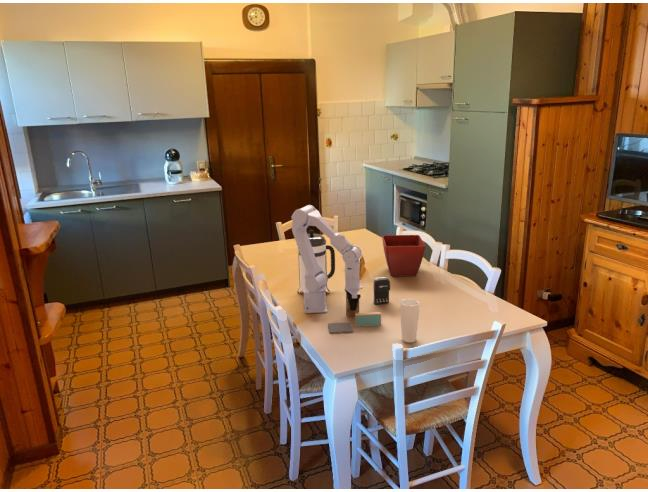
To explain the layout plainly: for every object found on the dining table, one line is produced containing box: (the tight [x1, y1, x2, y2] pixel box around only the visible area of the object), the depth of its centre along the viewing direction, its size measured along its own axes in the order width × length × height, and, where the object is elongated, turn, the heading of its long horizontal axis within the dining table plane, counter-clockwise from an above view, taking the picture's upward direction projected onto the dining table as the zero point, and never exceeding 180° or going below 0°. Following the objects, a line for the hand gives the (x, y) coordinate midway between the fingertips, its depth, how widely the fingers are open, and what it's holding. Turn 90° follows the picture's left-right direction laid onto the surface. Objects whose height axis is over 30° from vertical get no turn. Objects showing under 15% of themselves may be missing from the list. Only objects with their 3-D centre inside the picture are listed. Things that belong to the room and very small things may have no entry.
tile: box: [354, 311, 382, 327], centre depth 194 cm, size 10×2×5 cm, turn 94°
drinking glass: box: [399, 298, 420, 344], centre depth 180 cm, size 7×7×15 cm
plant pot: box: [381, 234, 426, 277], centre depth 248 cm, size 19×19×17 cm
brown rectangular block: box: [345, 295, 360, 319], centre depth 202 cm, size 5×4×8 cm
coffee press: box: [296, 229, 336, 295], centre depth 224 cm, size 17×16×30 cm
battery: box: [372, 276, 391, 305], centre depth 213 cm, size 7×4×11 cm, turn 101°
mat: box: [328, 321, 354, 334], centre depth 192 cm, size 9×8×1 cm
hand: (352, 307), depth 202 cm, fingers open, 4 cm apart
